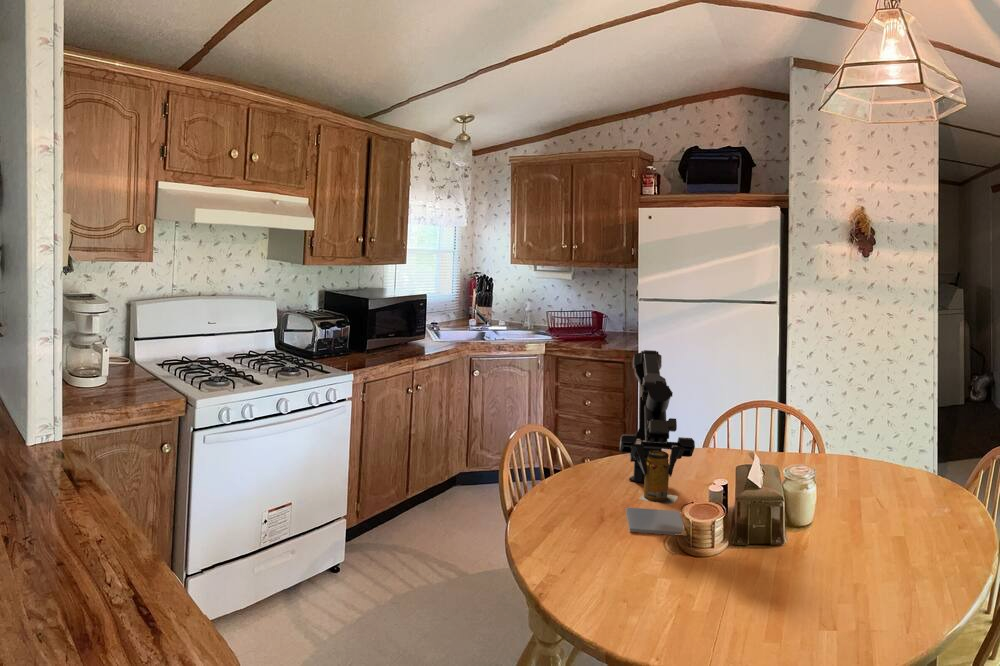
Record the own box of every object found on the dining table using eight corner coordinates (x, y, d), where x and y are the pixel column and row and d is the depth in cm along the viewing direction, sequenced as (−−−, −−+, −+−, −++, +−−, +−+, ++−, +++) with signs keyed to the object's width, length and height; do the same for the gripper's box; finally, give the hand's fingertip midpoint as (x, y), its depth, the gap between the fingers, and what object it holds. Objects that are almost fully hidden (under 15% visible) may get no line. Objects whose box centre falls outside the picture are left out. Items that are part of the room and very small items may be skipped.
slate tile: (625, 510, 183) (625, 507, 183) (678, 514, 182) (678, 510, 182) (629, 532, 170) (630, 528, 170) (687, 536, 168) (687, 532, 168)
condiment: (646, 490, 180) (648, 447, 179) (678, 497, 177) (681, 452, 175) (638, 499, 174) (641, 454, 172) (671, 506, 170) (675, 460, 168)
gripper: (622, 404, 177) (623, 458, 168) (696, 408, 175) (700, 463, 166) (619, 425, 186) (619, 478, 176) (689, 429, 184) (693, 482, 174)
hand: (657, 475), depth 173 cm, fingers closed on condiment, 6 cm apart
